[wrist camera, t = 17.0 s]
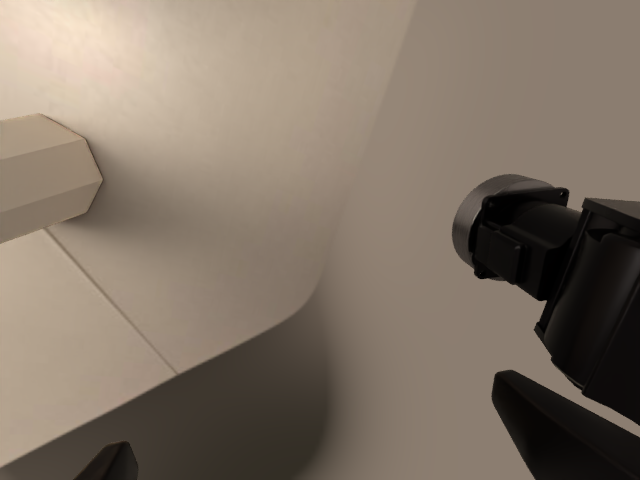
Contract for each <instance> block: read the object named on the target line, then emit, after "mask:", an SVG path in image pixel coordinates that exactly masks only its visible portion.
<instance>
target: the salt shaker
mask: <svg viewBox="0 0 640 480" xmlns="http://www.w3.org/2000/svg"><path fill="white" fill-rule="evenodd" d="M102 181H103V178H102V176H101V174H100V172H99V169H98V167H97V165H96V163H95V160H94V158H93V156H92V153H91V151H90V149H89V147H88V144H87V142H86V140H85V138H83V137H81V136H79V135H78V134H76V133H74V132H72V131H70V130H69V129H67V128H65V127H63V126H61V125H60V124H58V123H56V122H54V121H52V120H51V119H49V118H47V117H45V116H43V115H42V114H40V113H38V114H33V115H27V116H22V117H17V118H12V119H7V120H1V121H0V244H1V243H4V242H6V241H9V240H12V239H15V238H17V237H20V236H23V235H26V234H29V233H31V232H34V231H37V230H40V229H42V228H45V227H48V226H51V225H53V224H56V223H59V222H62V221H64V220H67V219H70V218H73V217H75V216H78V215H81V214H84V213H86V212H87V211H88V209H89V207H90V205H91V203H92V201H93V199H94V197H95V195H96V193H97V191H98V189H99V187H100V185H101V183H102Z"/></svg>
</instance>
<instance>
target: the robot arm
mask: <svg viewBox="0 0 640 480" xmlns="http://www.w3.org/2000/svg"><path fill="white" fill-rule="evenodd" d="M561 193H562V194H561ZM569 193H570V192H569V190H568V189H567V188H563V187H556V188H547V189H538V190H530V191H521V192H512V193H504V194H495V195H488V196H486V197H485V198H484V199H483V200H482V205H481V214H480V223H479V227H478V233H477V242H476V250H475V267H474V275H475V276H476V277H477V278H479V279H487V278H495V277H502V278H503V279H504V280H506V281H507V282H509V283H510V284H512V285H517V286H518V287H520V288H521V289H523V290H524V291H525V292H527V293H528V294H529V295H531V296H532V297H534V298H535V299H537V300H538V301H544V300H547V303H546V305H545V308H544V310H543V313H542V315H541V318H540V321H539V322H537V323H536V326H535V329H534V331H535V332H536V334H537V335H538V337H539V338H540V340H541V341H542V343H543V344H544V346H545V347H546V349H547V350H548V352H549V353H550V354H551V356H552V357H551V361H552V363H553V364H554V365H555V367H557V368H558V369H559V370H560V371H561V372H562V373H563V374H564V375H565V376H566V377H567V379H568V380H569V381H571V382H572V383H573V385H574V386H576V387H577V388H579V389H580V390H582V394H583V395H584V396H585V397H587V398H590V399H592V400H594V401H596V402H598V403H600V404H603V405H605V406H607V407H609V408H611V409H613V410H615V411H616V412H618V413H620V414H621V415H623V416H625V417H627V418H629V419H630V420H632V421H633V422H635V423H636V424H638V425H639V426H640V202H636V201H623V200H610V199H597V198H585V199H584V202H583V205H582V208H583V211H582V212H579V211H576V210H572V209H570V208H567V203H568V199H569ZM560 194H561V196H560ZM491 200H492V202H491V204H490V205H488V204H489V202H490V201H491ZM481 271H483V272H482V273H481V274H480V272H481ZM492 401H493V404H494V407H495V408H496V410H497V412H498V414H499V416H500V418H501V420H502V421H503V423H504V425H505V427H506V429H507V431H508V432H509V434H510V436H511V438H512V440H513V442H514V443H515V445H516V447H517V449H518V451H519V453H520V455H521V457H522V458H523V460H524V462H525V463H526V465H527V467H528V468H529V470H530V472H531V473H532V475H533V476H534V478H535V480H640V437H638V436H636V435H634V434H632V433H630V432H629V431H627V430H625V429H623V428H621V427H619V426H617V425H615V424H614V423H612V422H610V421H608V420H606V419H604V418H602V417H600V416H599V415H597V414H595V413H593V412H591V411H589V410H587V409H585V408H583V407H582V406H580V405H578V404H576V403H574V402H572V401H570V400H568V399H566V398H565V397H562V396H561V395H559V394H557V393H555V392H553V391H552V390H550V389H548V388H546V387H544V386H542V385H540V384H538V383H537V382H535V381H533V380H531V379H529V378H527V377H525V376H523V375H521V374H520V373H518V372H516V371H513V370H506V371H501V372H497V373H496V374H495V377H494V383H493V390H492ZM137 477H138V464H137V461H136V458H135V456H134V454H133V451H132V449H131V447H130V444H129V442H127V441H119V442H114V443H109V444H107V445H106V446H104V447H103V448H102V449H101V450H100V452H99V453H98V454H97V455H96V456H95V457H94V458H93V459H92V460H91V461H90V462H89V463H88V464H87V465H86V466H85V467H84V468H83V470H82V471H81V472H80V473H79V474H78V475H77V476H76V477H75V478H74V479H73V480H137Z"/></svg>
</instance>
